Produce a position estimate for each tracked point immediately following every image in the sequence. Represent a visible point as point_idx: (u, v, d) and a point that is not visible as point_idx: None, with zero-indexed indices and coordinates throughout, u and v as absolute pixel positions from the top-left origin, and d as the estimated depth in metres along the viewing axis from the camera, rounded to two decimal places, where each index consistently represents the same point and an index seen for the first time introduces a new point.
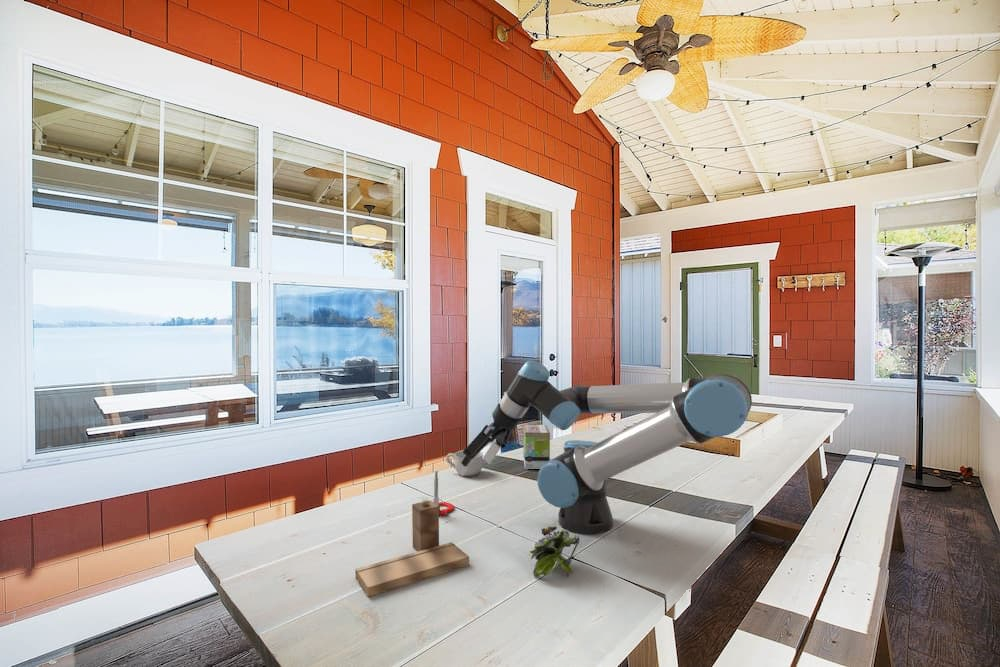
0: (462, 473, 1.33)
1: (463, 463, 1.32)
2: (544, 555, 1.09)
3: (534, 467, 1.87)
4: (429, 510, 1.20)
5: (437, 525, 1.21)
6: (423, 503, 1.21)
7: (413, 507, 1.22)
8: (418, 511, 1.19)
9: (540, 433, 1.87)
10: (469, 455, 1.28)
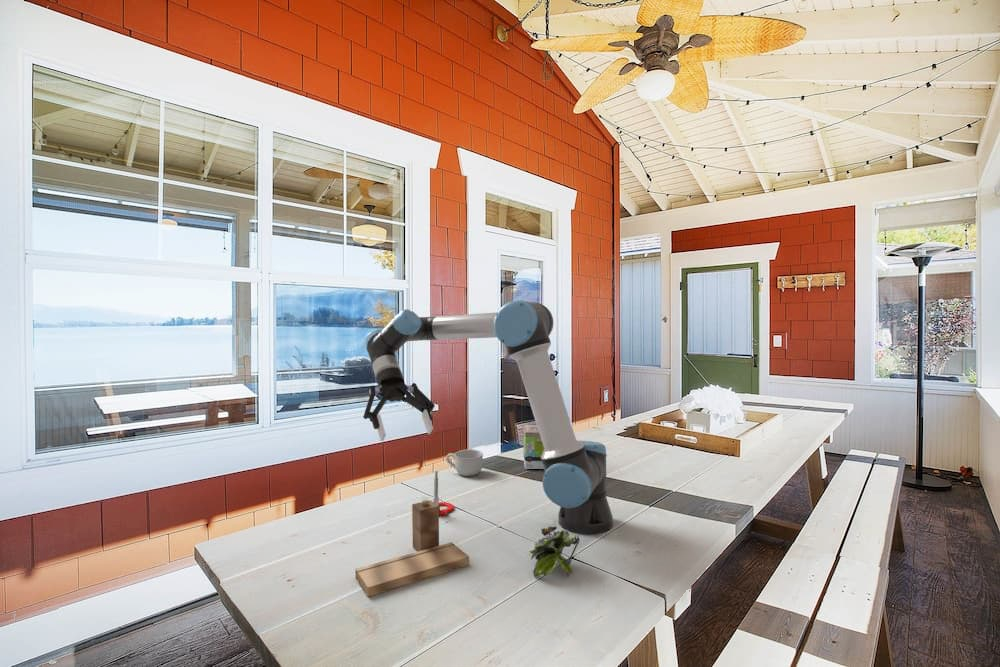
0: (382, 433, 1.27)
1: (374, 425, 1.29)
2: (544, 555, 1.09)
3: (534, 467, 1.87)
4: (429, 510, 1.20)
5: (437, 525, 1.21)
6: (423, 503, 1.21)
7: (413, 507, 1.22)
8: (418, 511, 1.19)
9: None
10: (365, 411, 1.30)
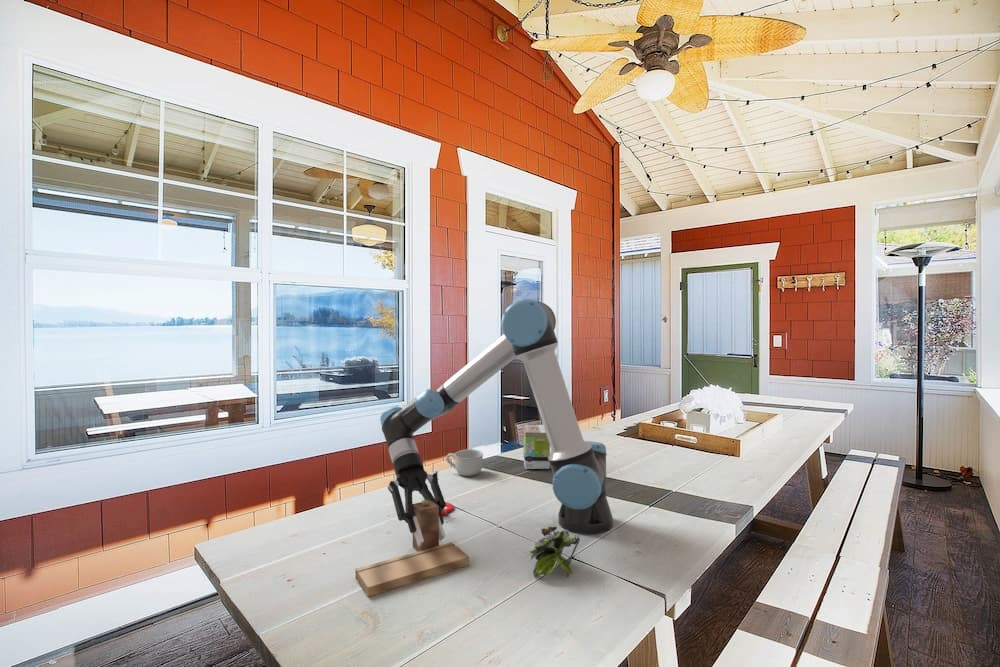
0: (419, 539, 1.17)
1: (410, 529, 1.19)
2: (544, 555, 1.09)
3: (534, 467, 1.87)
4: (429, 510, 1.20)
5: (437, 525, 1.21)
6: (423, 503, 1.21)
7: (413, 507, 1.22)
8: (418, 511, 1.19)
9: (540, 433, 1.87)
10: None
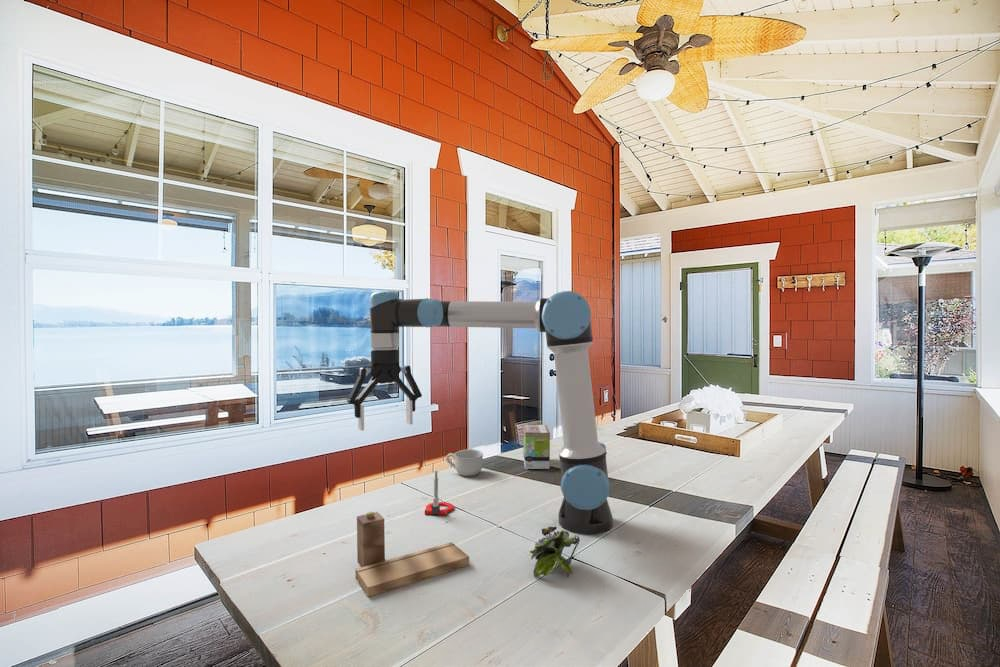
0: (360, 427, 1.28)
1: (355, 415, 1.28)
2: (544, 555, 1.09)
3: (534, 467, 1.87)
4: (373, 523, 1.12)
5: (383, 539, 1.14)
6: (368, 515, 1.14)
7: (357, 519, 1.14)
8: (361, 524, 1.12)
9: (540, 433, 1.87)
10: (349, 400, 1.26)
